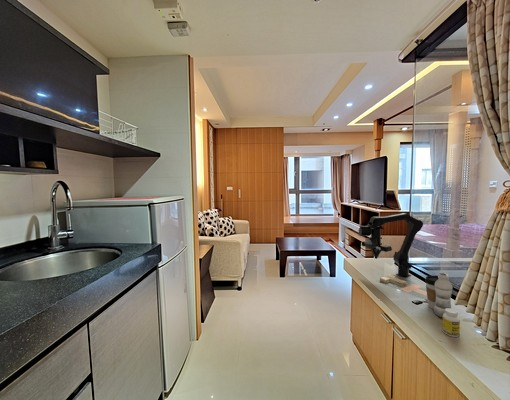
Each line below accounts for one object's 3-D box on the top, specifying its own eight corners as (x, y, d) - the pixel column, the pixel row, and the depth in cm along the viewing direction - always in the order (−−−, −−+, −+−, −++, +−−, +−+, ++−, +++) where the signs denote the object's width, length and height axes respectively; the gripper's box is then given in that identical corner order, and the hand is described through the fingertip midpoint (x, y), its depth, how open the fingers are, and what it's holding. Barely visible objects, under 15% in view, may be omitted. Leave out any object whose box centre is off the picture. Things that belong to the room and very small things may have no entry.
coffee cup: (450, 312, 111) (450, 281, 110) (430, 310, 113) (430, 280, 112) (440, 303, 119) (440, 274, 118) (421, 302, 121) (421, 274, 120)
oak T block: (392, 276, 152) (392, 274, 152) (410, 283, 142) (410, 280, 141) (379, 280, 147) (379, 277, 147) (398, 288, 136) (398, 284, 136)
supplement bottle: (452, 338, 93) (453, 315, 92) (439, 330, 98) (439, 308, 97) (463, 336, 94) (463, 312, 93) (449, 328, 99) (449, 306, 98)
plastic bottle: (430, 312, 111) (430, 272, 110) (444, 312, 111) (445, 271, 110) (440, 320, 105) (441, 277, 103) (456, 320, 104) (456, 277, 103)
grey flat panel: (390, 276, 154) (390, 275, 154) (442, 294, 128) (442, 293, 128) (376, 281, 148) (376, 280, 148) (427, 300, 122) (427, 300, 122)
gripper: (355, 234, 159) (356, 257, 160) (380, 240, 142) (381, 264, 143) (366, 232, 164) (367, 254, 165) (392, 237, 147) (392, 261, 148)
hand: (376, 258), depth 155 cm, fingers closed
